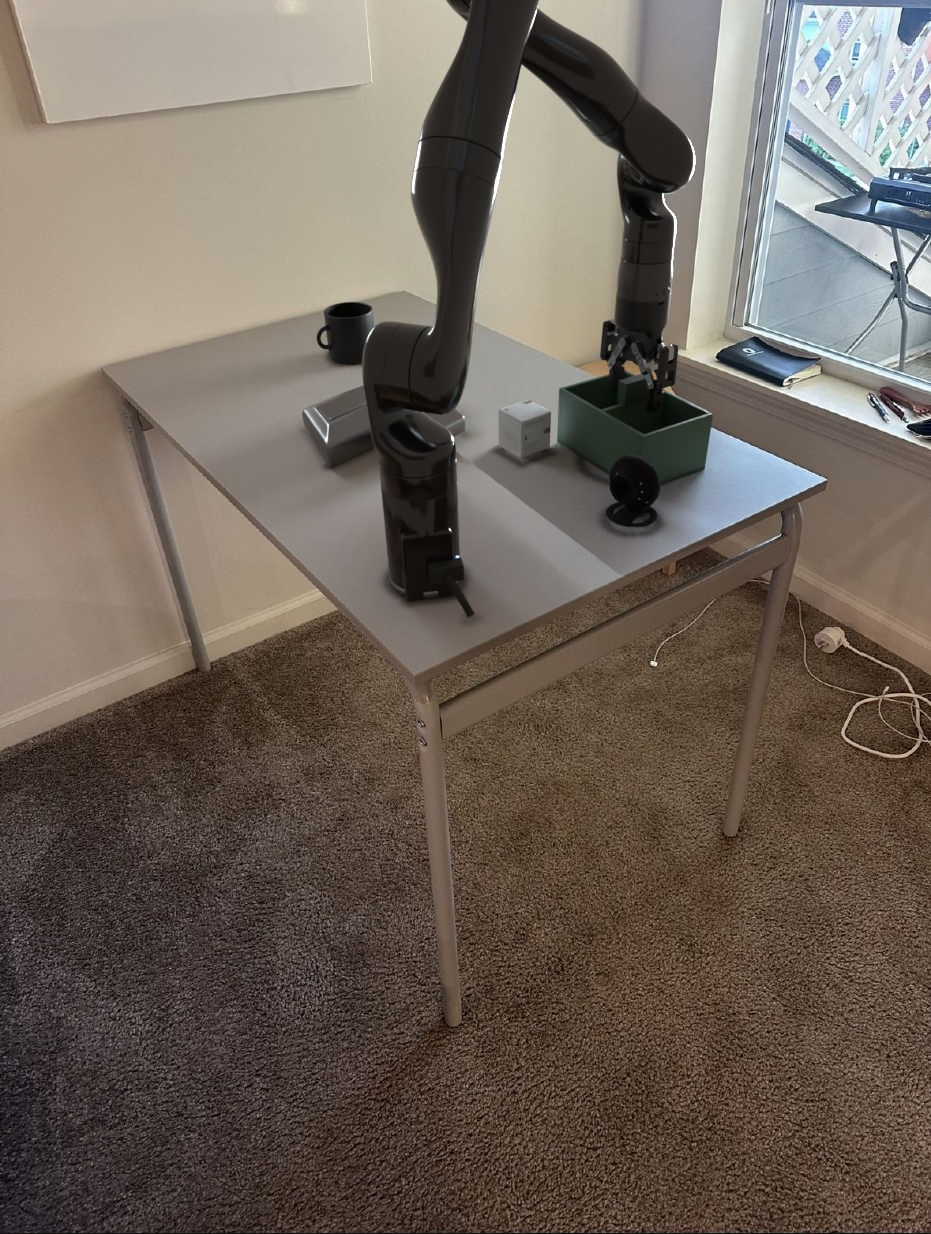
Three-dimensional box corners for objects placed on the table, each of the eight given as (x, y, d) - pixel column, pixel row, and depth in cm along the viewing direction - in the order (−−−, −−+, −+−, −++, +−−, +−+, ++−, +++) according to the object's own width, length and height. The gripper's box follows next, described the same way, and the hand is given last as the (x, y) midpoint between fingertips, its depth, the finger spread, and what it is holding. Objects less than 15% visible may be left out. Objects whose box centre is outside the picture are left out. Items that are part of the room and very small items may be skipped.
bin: (704, 469, 135) (716, 391, 127) (637, 493, 130) (646, 413, 122) (620, 421, 149) (626, 348, 141) (556, 441, 144) (559, 366, 136)
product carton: (521, 465, 140) (521, 421, 136) (497, 451, 144) (497, 408, 140) (550, 453, 143) (552, 410, 138) (526, 440, 147) (527, 398, 142)
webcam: (592, 521, 127) (596, 457, 120) (624, 501, 131) (630, 438, 125) (636, 541, 122) (643, 476, 116) (669, 520, 126) (677, 456, 120)
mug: (309, 356, 178) (303, 311, 173) (363, 342, 183) (358, 298, 178) (330, 371, 172) (324, 324, 166) (385, 357, 177) (381, 311, 171)
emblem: (327, 364, 161) (480, 373, 156) (331, 392, 164) (480, 401, 159) (270, 434, 139) (445, 446, 134) (275, 465, 142) (446, 478, 138)
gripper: (590, 282, 127) (584, 390, 137) (657, 310, 118) (645, 424, 128) (631, 272, 130) (622, 379, 140) (699, 299, 121) (685, 411, 131)
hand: (633, 400), depth 134 cm, fingers open, 8 cm apart
